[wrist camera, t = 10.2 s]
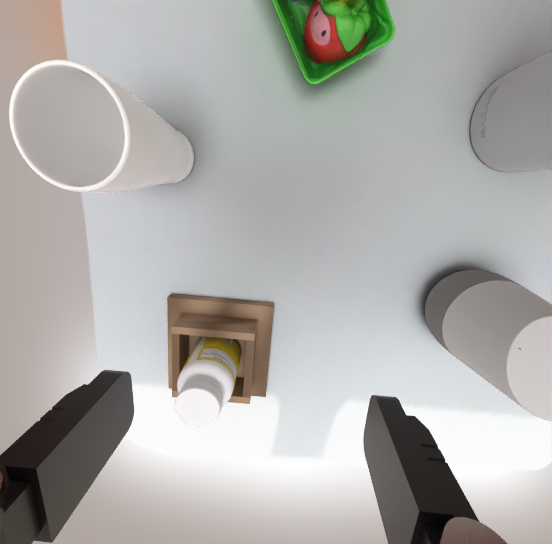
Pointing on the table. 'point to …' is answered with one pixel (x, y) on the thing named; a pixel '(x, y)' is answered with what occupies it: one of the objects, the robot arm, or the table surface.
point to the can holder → (222, 324)
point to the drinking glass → (93, 132)
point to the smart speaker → (497, 334)
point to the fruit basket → (333, 32)
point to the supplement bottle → (207, 380)
